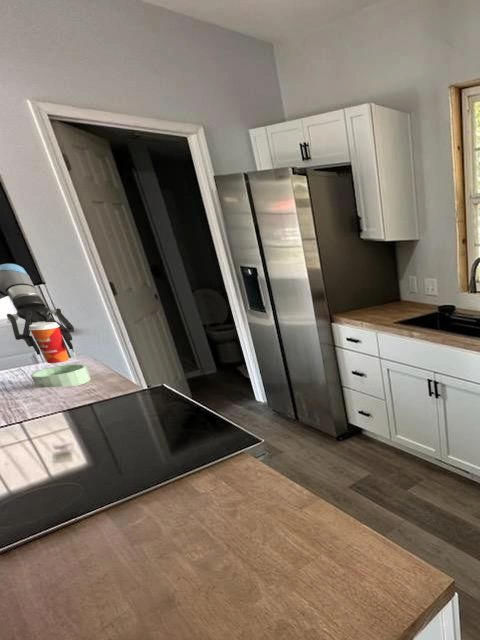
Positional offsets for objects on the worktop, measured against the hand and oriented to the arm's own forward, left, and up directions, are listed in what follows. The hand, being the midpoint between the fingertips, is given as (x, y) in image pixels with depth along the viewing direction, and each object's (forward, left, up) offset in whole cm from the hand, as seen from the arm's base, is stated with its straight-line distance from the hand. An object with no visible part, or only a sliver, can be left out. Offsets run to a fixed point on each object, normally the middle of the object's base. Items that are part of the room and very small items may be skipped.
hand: (55, 349), depth 150 cm
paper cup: (-3, +2, -5) cm, 6 cm away
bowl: (-4, +2, -14) cm, 15 cm away
